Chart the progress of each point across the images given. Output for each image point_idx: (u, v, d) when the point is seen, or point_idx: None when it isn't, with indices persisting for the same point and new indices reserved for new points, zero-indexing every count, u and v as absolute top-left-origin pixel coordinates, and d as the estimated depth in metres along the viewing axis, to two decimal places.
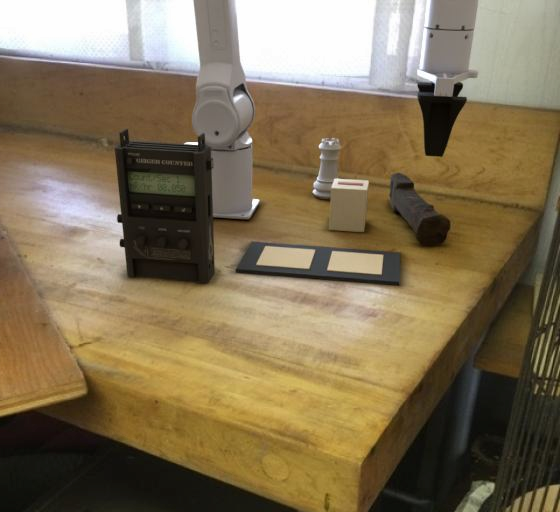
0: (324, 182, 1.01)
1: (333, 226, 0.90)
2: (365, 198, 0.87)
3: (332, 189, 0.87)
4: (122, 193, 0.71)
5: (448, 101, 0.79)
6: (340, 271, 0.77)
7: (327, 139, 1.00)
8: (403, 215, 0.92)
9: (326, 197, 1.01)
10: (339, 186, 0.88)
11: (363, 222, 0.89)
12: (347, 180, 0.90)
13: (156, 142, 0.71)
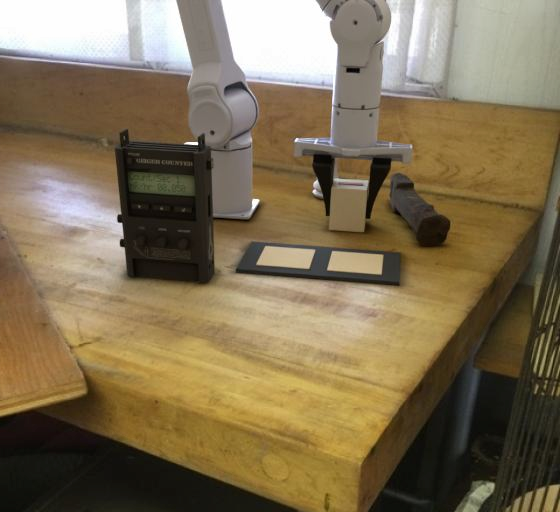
0: None
1: (333, 226, 0.90)
2: (365, 198, 0.87)
3: (332, 189, 0.87)
4: (122, 193, 0.71)
5: None
6: (340, 271, 0.77)
7: None
8: (403, 215, 0.92)
9: None
10: (339, 186, 0.88)
11: (363, 222, 0.89)
12: (347, 180, 0.90)
13: (156, 142, 0.71)
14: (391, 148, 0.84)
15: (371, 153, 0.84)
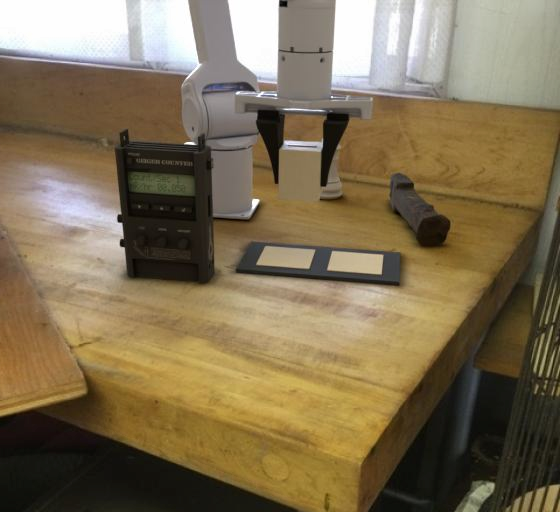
0: None
1: (283, 195, 0.77)
2: (319, 161, 0.74)
3: (280, 151, 0.74)
4: (122, 193, 0.71)
5: None
6: (340, 271, 0.77)
7: None
8: (403, 215, 0.92)
9: (326, 197, 1.01)
10: (288, 148, 0.75)
11: (317, 190, 0.76)
12: (299, 142, 0.77)
13: (156, 142, 0.71)
14: (347, 101, 0.72)
15: (324, 106, 0.71)
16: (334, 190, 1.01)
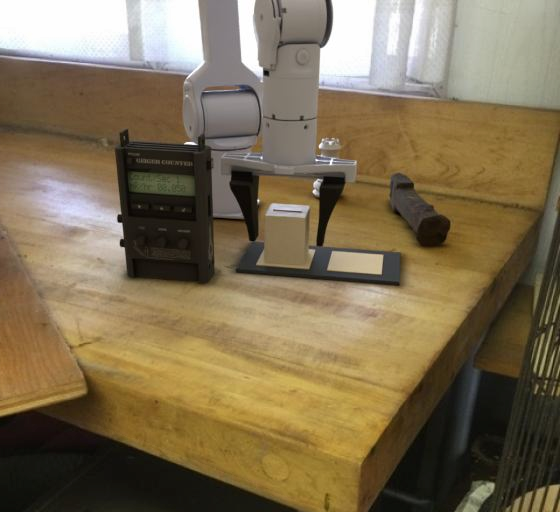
0: None
1: (269, 258, 0.78)
2: (303, 227, 0.76)
3: (266, 217, 0.76)
4: (122, 193, 0.71)
5: None
6: (340, 271, 0.77)
7: (327, 139, 1.00)
8: (403, 215, 0.92)
9: None
10: (274, 213, 0.76)
11: (302, 254, 0.77)
12: (285, 205, 0.79)
13: (156, 142, 0.71)
14: (331, 165, 0.73)
15: (308, 171, 0.73)
16: None
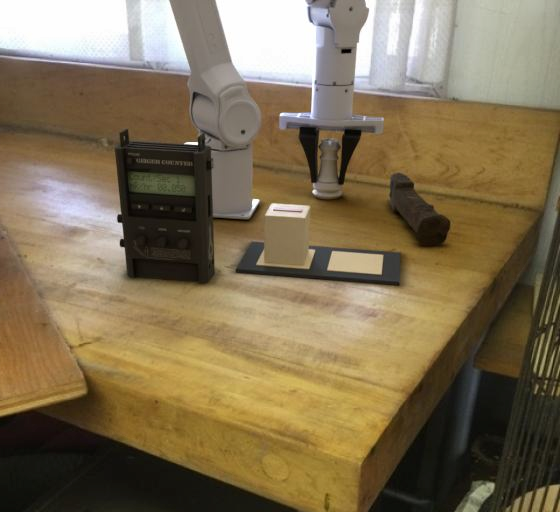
0: (324, 182, 1.01)
1: (269, 258, 0.78)
2: (303, 227, 0.76)
3: (266, 217, 0.76)
4: (122, 193, 0.71)
5: None
6: (340, 271, 0.77)
7: (327, 139, 1.00)
8: (403, 215, 0.92)
9: (326, 197, 1.01)
10: (274, 213, 0.76)
11: (302, 254, 0.77)
12: (285, 205, 0.79)
13: (156, 142, 0.71)
14: (299, 113, 0.99)
15: None
16: (334, 190, 1.01)
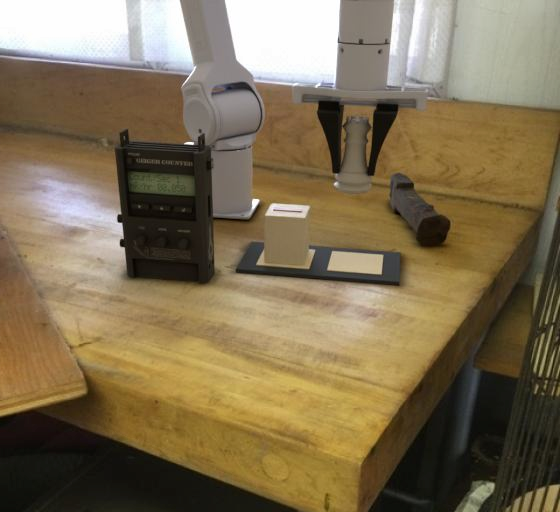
0: (349, 172, 0.79)
1: (269, 258, 0.78)
2: (303, 227, 0.76)
3: (266, 217, 0.76)
4: (122, 193, 0.71)
5: None
6: (340, 271, 0.77)
7: (354, 117, 0.78)
8: (403, 215, 0.92)
9: (351, 191, 0.79)
10: (274, 213, 0.76)
11: (302, 254, 0.77)
12: (285, 205, 0.79)
13: (156, 142, 0.71)
14: None
15: None
16: (361, 183, 0.79)
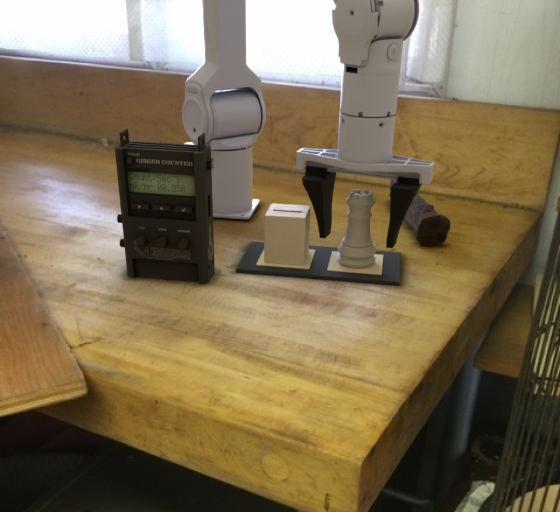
0: (350, 246, 0.77)
1: (269, 258, 0.78)
2: (303, 227, 0.76)
3: (266, 217, 0.76)
4: (122, 193, 0.71)
5: (420, 186, 0.73)
6: (340, 271, 0.77)
7: (359, 190, 0.76)
8: None
9: (351, 265, 0.77)
10: (274, 213, 0.76)
11: (302, 254, 0.77)
12: (285, 205, 0.79)
13: (156, 142, 0.71)
14: (325, 150, 0.76)
15: None
16: (362, 257, 0.77)
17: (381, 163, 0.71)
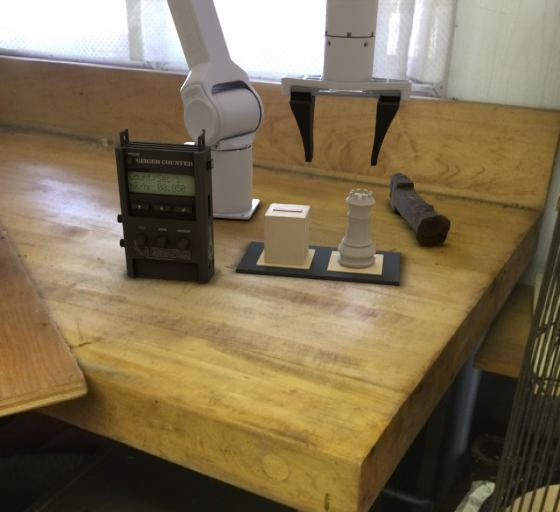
0: (350, 246, 0.77)
1: (269, 258, 0.78)
2: (303, 227, 0.76)
3: (266, 217, 0.76)
4: (122, 193, 0.71)
5: None
6: (340, 271, 0.77)
7: (358, 190, 0.76)
8: (403, 215, 0.92)
9: (351, 265, 0.77)
10: (274, 213, 0.76)
11: (302, 254, 0.77)
12: (285, 205, 0.79)
13: (156, 142, 0.71)
14: (306, 76, 0.80)
15: None
16: (362, 257, 0.77)
17: (366, 82, 0.76)
